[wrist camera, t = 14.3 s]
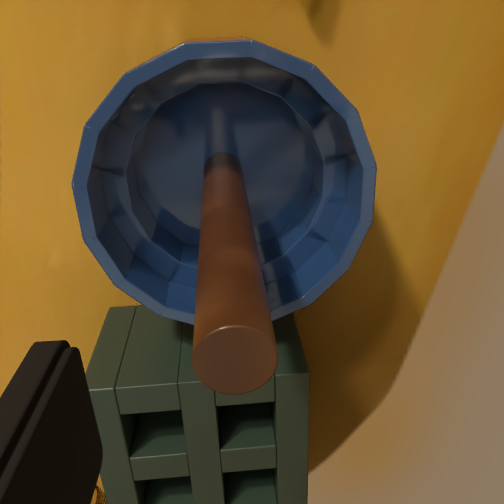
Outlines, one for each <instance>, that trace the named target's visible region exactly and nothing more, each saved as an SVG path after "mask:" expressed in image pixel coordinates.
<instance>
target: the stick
mask: <svg viewBox="0 0 504 504" xmlns="http://www.w3.org/2000/svg"><path fill="white" fill-rule="evenodd" d="M278 358H279V357H278V350H277V345H276V340H275V335H274V330H273V324H272V319H271V314H270V309H269V304H268V299H267V294H266V289H265V284H264V279H263V274H262V269H261V264H260V259H259V254H258V249H257V244H256V239H255V233H254V228H253V223H252V218H251V213H250V208H249V203H248V198H247V193H246V188H245V183H244V178H243V173H242V168H241V165H240V162H239V161H238V160H237V158H236V157H234V156H233V155H231V154H228V153H217V154H215V155H213V156H211V157H210V158H209V159H208V160H207V162H206V163H205V166H204V175H203V191H202V207H201V223H200V239H199V255H198V271H197V287H196V303H195V319H194V335H193V350H192V366H193V370H194V372H195V374H196V376H197V378H198V379H199V380H200V381H201V382H202V383H203V384H204V385H205V386H206V387H208V388H209V389H211V390H213V391H216V392H218V393H222V394H228V395H239V394H245V393H249V392H252V391H254V390H256V389H258V388H260V387H262V386H263V385H264V384H266V383H267V382H268V381H269V380H270V379H271V377H272V376H273V374H274V373H275V371H276V368H277V365H278Z"/></svg>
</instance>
